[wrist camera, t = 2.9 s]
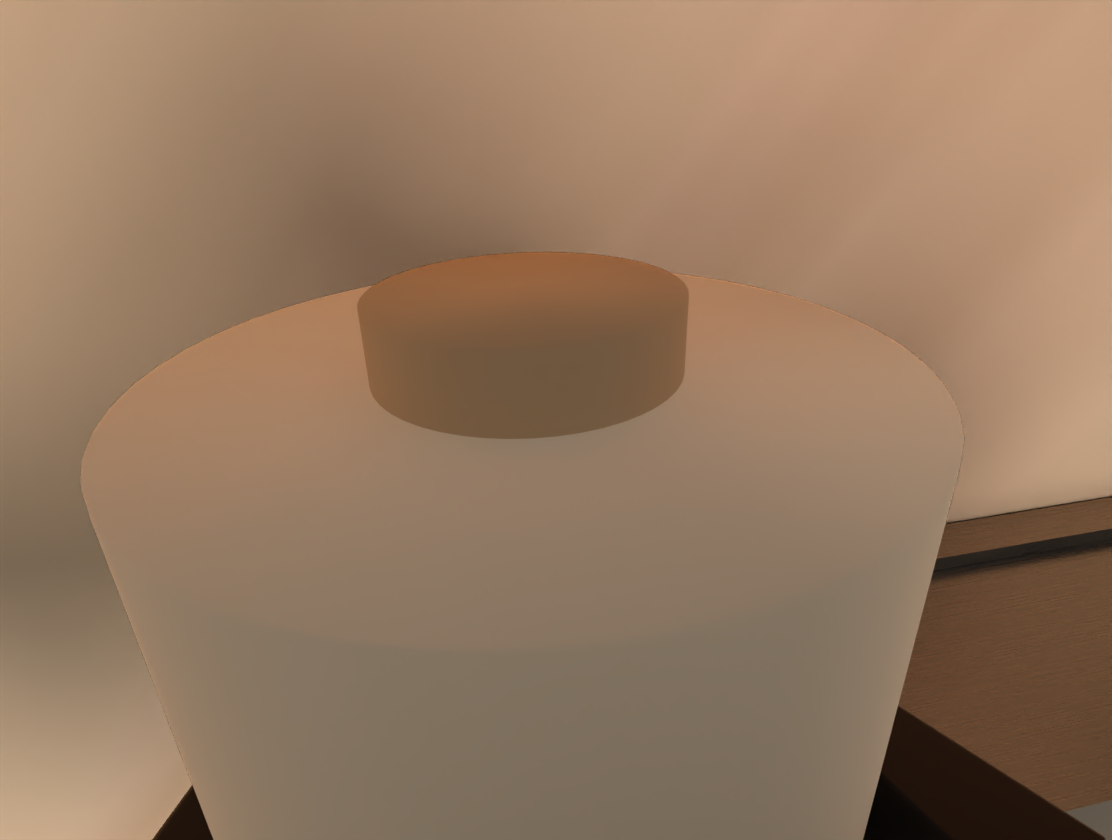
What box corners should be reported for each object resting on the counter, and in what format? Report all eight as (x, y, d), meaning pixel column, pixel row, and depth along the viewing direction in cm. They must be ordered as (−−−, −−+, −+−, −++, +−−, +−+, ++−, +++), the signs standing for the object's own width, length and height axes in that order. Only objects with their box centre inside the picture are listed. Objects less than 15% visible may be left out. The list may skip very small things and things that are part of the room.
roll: (195, 234, 6) (-312, 646, 2) (737, 200, 7) (1312, 425, 3) (365, 910, 11) (339, 1504, 6) (684, 842, 11) (860, 1325, 7)
